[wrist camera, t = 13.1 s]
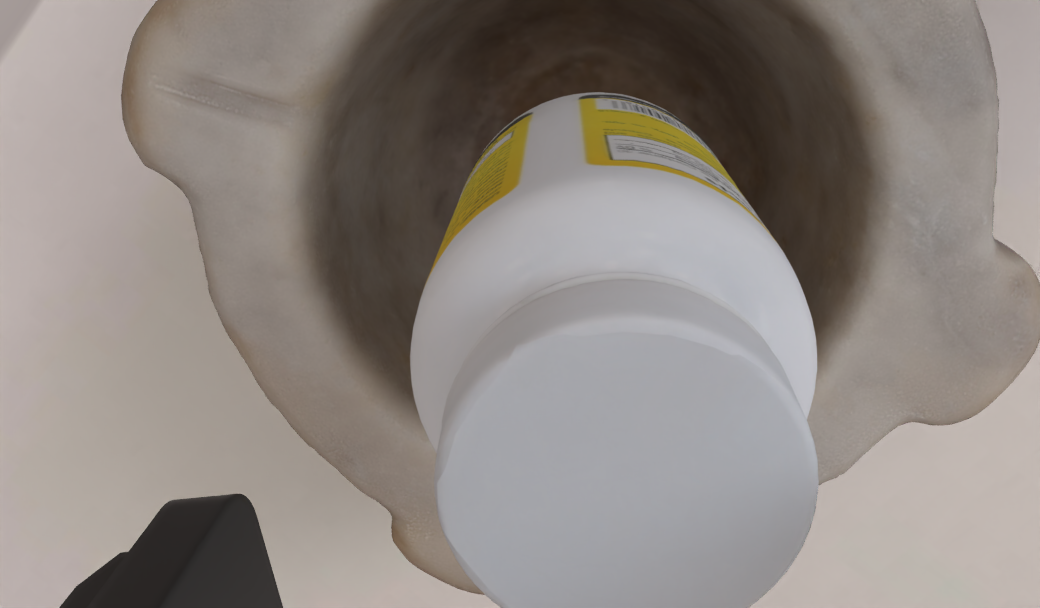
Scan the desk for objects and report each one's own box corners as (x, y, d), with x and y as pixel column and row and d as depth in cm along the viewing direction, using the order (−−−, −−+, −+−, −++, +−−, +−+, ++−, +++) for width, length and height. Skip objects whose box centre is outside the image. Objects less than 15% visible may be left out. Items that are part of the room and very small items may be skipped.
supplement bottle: (501, 371, 20) (442, 734, 11) (428, 127, 18) (281, 313, 9) (753, 316, 19) (920, 655, 10) (702, 55, 17) (852, 177, 8)
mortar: (944, 279, 28) (1110, 422, 20) (451, 465, 31) (407, 658, 23) (763, -302, 23) (880, -454, 14) (194, -9, 26) (12, 10, 18)
